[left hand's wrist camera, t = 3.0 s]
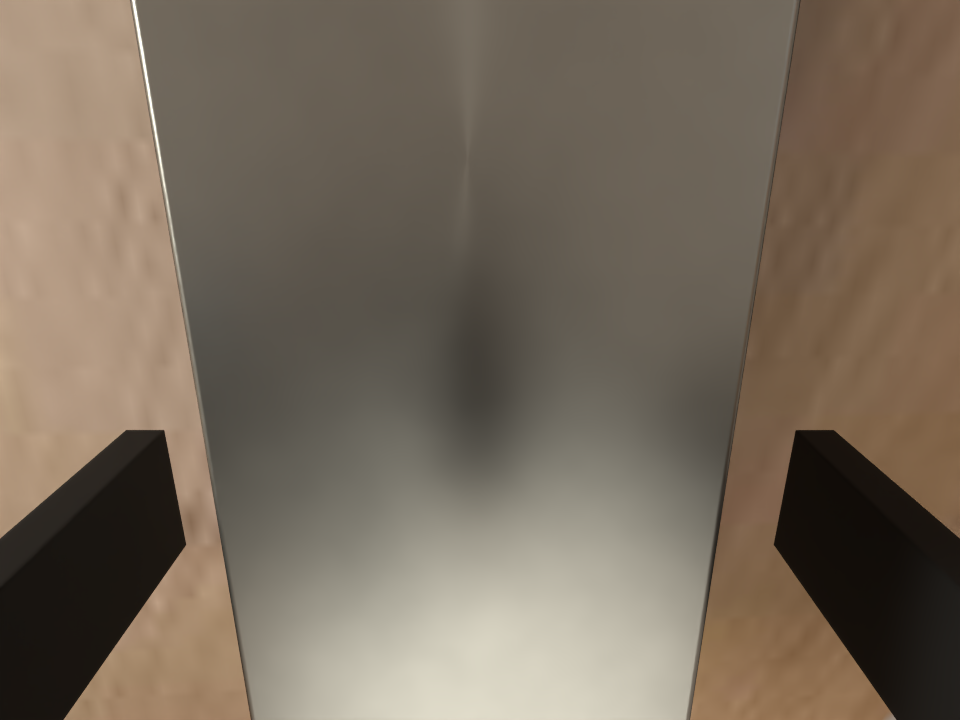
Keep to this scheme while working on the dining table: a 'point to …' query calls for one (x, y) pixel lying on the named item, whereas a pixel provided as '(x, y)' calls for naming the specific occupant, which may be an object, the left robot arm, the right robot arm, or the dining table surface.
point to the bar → (467, 334)
